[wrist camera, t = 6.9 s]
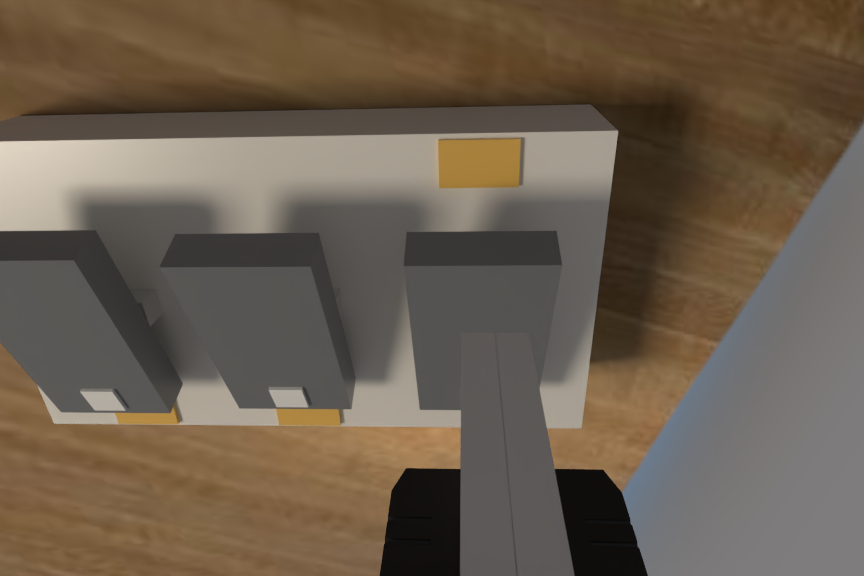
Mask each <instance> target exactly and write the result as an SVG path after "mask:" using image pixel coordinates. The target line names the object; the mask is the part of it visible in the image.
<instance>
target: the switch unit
mask: <svg viewBox="0 0 864 576" xmlns="http://www.w3.org/2000/svg"><path fill="white" fill-rule="evenodd" d="M617 137H618V130H617V129H616V128H615V127H614V126H613V125H612V124H611V123H610V122H609V121H608V120H607V119H605V118H604V117H603V116H602V115H601V114H600V113H599V112H598V111H597V110H596V109H595V108H594V107H593V106H592V105H591V104H586V105H535V106H485V107H435V108H385V109H335V110H285V111H235V112H185V113H134V114H84V115H34V116H17V117H14V118H10V119H7V120H4V121H0V231H61V230H96V232H97V233H98V235H99V237H100V239H101V241H102V242H103V244H104V246H105V248H106V249H107V251H108V253H109V255H110V256H111V258H112V260H113V262H114V263H115V265H116V267H117V269H118V270H119V272H120V274H121V276H122V277H123V279H124V281H125V283H126V284H127V286H128V288H129V290H130V291H131V293H132V295H133V297H134V298H135V300H136V302H137V304H138V305H139V307H140V309H141V311H142V312H143V314H144V316H145V318H146V319H147V321H148V323H149V325H150V326H151V328H152V330H153V332H154V333H155V335H156V337H157V339H158V340H159V342H160V344H161V346H162V347H163V349H164V351H165V353H166V354H167V356H168V358H169V360H170V361H171V363H172V365H173V367H174V369H175V370H176V372H177V374H178V376H179V377H180V379H181V381H182V383H183V385H182V388H181V390H180V392H179V395H178V397H177V399H176V402H175V404H174V406H173V409H172V411H171V413H71V412H60V410H59V409H58V408H57V407H56V406H55V405H54V404H53V402H52V401H51V400H50V399H49V398H48V397H47V395H46V394H45V393H44V392H43V391H42V390H41V389H40V387H39V386H38V385H37V386H38V388H39V390H40V393H41V395H42V397H43V399H44V402H45V404H46V406H47V408H48V411H49V413H50V415H51V418H52V420H53V422H54V424H158V425H266V426H375V427H461V410H420V408H419V399H418V390H417V381H416V372H415V363H414V354H413V345H412V336H411V328H410V319H409V310H408V301H407V292H406V283H405V274H404V256H405V245H406V234H407V232H464V231H557V237H558V243H559V249H560V255H561V261H562V269H561V275H560V280H559V286H558V291H557V296H556V302H555V307H554V313H553V318H552V324H551V329H550V335H549V340H548V345H547V351H546V356H545V362H544V367H543V373H542V378H541V384H540V394H541V400H542V405H543V410H544V416H545V421H546V426H547V428H581V427H582V419H583V411H584V403H585V395H586V387H587V379H588V371H589V363H590V355H591V347H592V339H593V331H594V323H595V315H596V306H597V298H598V290H599V282H600V274H601V266H602V258H603V250H604V242H605V234H606V226H607V218H608V210H609V202H610V194H611V186H612V178H613V170H614V162H615V153H616V145H617ZM231 233H319V236H320V240H321V243H322V247H323V251H324V255H325V259H326V263H327V267H328V271H329V275H330V279H331V283H332V287H333V291H334V294H335V298H336V302H337V306H338V310H339V314H340V318H341V322H342V326H343V330H344V334H345V338H346V342H347V346H348V349H349V353H350V357H351V361H352V365H353V369H354V373H355V377H356V381H355V388H354V395H353V402H352V409H239V407H238V405H237V403H236V402H235V400H234V398H233V396H232V394H231V393H230V391H229V389H228V387H227V386H226V384H225V382H224V380H223V379H222V377H221V375H220V373H219V372H218V370H217V368H216V366H215V365H214V363H213V361H212V359H211V358H210V356H209V354H208V352H207V351H206V349H205V347H204V345H203V344H202V342H201V340H200V338H199V337H198V335H197V333H196V331H195V330H194V328H193V326H192V324H191V323H190V321H189V319H188V317H187V316H186V314H185V312H184V310H183V309H182V307H181V305H180V303H179V302H178V300H177V298H176V296H175V295H174V293H173V291H172V289H171V288H170V286H169V284H168V282H167V281H166V279H165V277H164V275H163V273H162V272H161V270H160V268H159V267H160V265H161V262H162V260H163V258H164V256H165V254H166V252H167V250H168V248H169V246H170V244H171V242H172V240H173V238H174V236H175V234H231Z"/></svg>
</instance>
